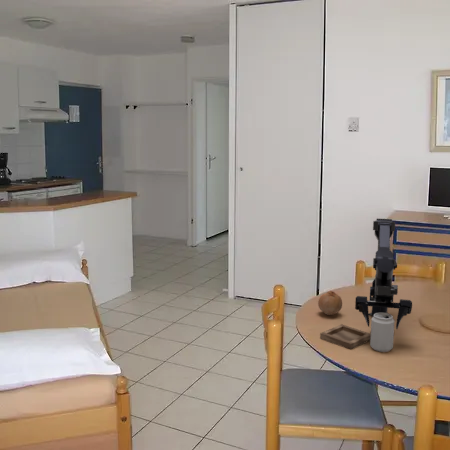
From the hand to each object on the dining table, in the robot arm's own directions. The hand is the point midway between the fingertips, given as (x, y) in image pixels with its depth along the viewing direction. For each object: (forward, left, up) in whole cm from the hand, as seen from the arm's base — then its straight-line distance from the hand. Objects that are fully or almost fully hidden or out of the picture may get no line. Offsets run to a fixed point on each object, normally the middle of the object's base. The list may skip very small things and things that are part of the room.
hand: (382, 327), depth 184 cm
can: (0, 0, -8) cm, 8 cm away
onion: (-14, -32, -8) cm, 36 cm away
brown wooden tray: (+2, -13, -8) cm, 15 cm away
